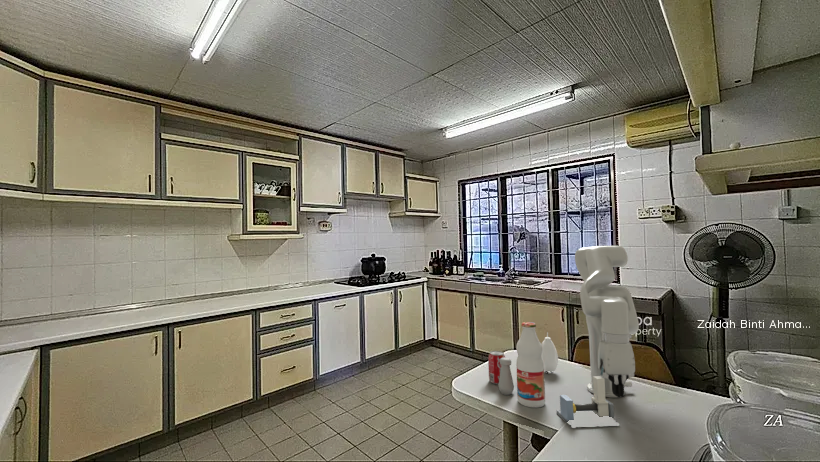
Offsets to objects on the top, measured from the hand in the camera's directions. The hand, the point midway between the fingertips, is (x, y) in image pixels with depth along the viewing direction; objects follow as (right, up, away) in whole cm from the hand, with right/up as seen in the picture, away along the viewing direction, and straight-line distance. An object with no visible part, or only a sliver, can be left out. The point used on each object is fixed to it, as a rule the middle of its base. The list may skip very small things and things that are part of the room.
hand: (618, 395), depth 113 cm
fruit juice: (-24, -8, +12) cm, 28 cm away
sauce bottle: (-6, -10, +42) cm, 44 cm away
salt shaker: (-30, -9, +21) cm, 38 cm away
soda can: (-31, -10, +32) cm, 45 cm away
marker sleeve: (-6, -6, -1) cm, 8 cm away
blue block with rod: (-11, -7, -1) cm, 13 cm away
